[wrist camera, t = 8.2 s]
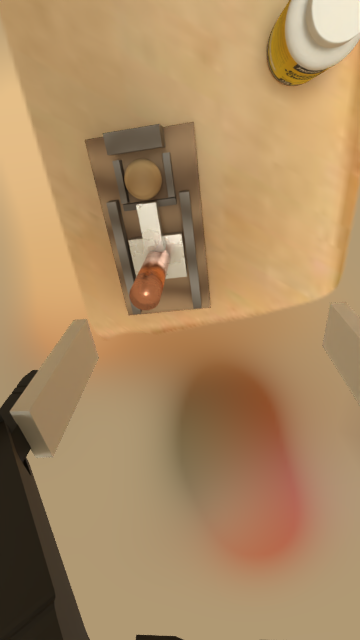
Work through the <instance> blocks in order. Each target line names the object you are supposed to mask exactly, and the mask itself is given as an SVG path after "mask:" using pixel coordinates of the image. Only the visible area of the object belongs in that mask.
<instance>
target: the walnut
mask: <svg viewBox="0 0 360 640" xmlns="http://www.w3.org/2000/svg"><path fill="white" fill-rule="evenodd" d="M124 181H125V185H126V188H127V190H128V191H129V193H130V194H131V195H132V196H134V197H135V198H137V199H141V200H148V199H151V198H153V197H154V196H155V195H156V194H157V193H158V192H159V190H160V188H161V184H162V177H161V173H160V170H159V169H158V167H157V166H156V165H155V164H154V163H153V162H152V161H150V160H147V159H137V160H135V161H133V162H131V163H130V164H129V165H128V167H127V169H126V171H125V176H124Z"/></svg>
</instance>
